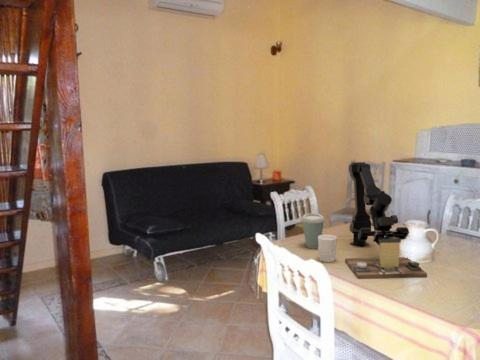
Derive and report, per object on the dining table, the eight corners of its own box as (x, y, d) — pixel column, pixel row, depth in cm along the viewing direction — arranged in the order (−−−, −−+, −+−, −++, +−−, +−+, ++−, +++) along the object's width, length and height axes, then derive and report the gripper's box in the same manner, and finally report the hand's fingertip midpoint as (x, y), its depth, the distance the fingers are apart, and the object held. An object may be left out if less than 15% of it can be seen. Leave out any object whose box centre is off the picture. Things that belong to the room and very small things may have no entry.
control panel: (345, 261, 167) (345, 256, 167) (406, 260, 168) (407, 254, 167) (358, 279, 149) (358, 272, 149) (427, 277, 149) (427, 271, 149)
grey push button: (355, 265, 156) (355, 261, 156) (364, 265, 156) (365, 261, 156) (358, 268, 152) (358, 265, 152) (367, 268, 152) (368, 265, 152)
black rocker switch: (407, 263, 156) (407, 261, 156) (414, 263, 156) (414, 261, 156) (411, 265, 152) (411, 263, 152) (419, 265, 152) (419, 263, 152)
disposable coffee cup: (326, 249, 183) (326, 218, 181) (302, 250, 184) (302, 218, 182) (322, 242, 194) (322, 212, 192) (299, 243, 194) (299, 213, 192)
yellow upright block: (376, 268, 155) (377, 236, 154) (396, 267, 155) (397, 236, 154) (380, 272, 151) (381, 239, 150) (400, 271, 151) (401, 239, 150)
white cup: (325, 264, 165) (326, 240, 164) (314, 258, 172) (314, 236, 171) (340, 260, 169) (340, 237, 168) (328, 255, 176) (328, 233, 174)
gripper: (360, 208, 156) (369, 244, 147) (408, 207, 156) (419, 243, 147) (354, 222, 165) (361, 257, 156) (399, 221, 165) (409, 256, 156)
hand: (388, 253), depth 153 cm, fingers closed, pressing on yellow upright block
